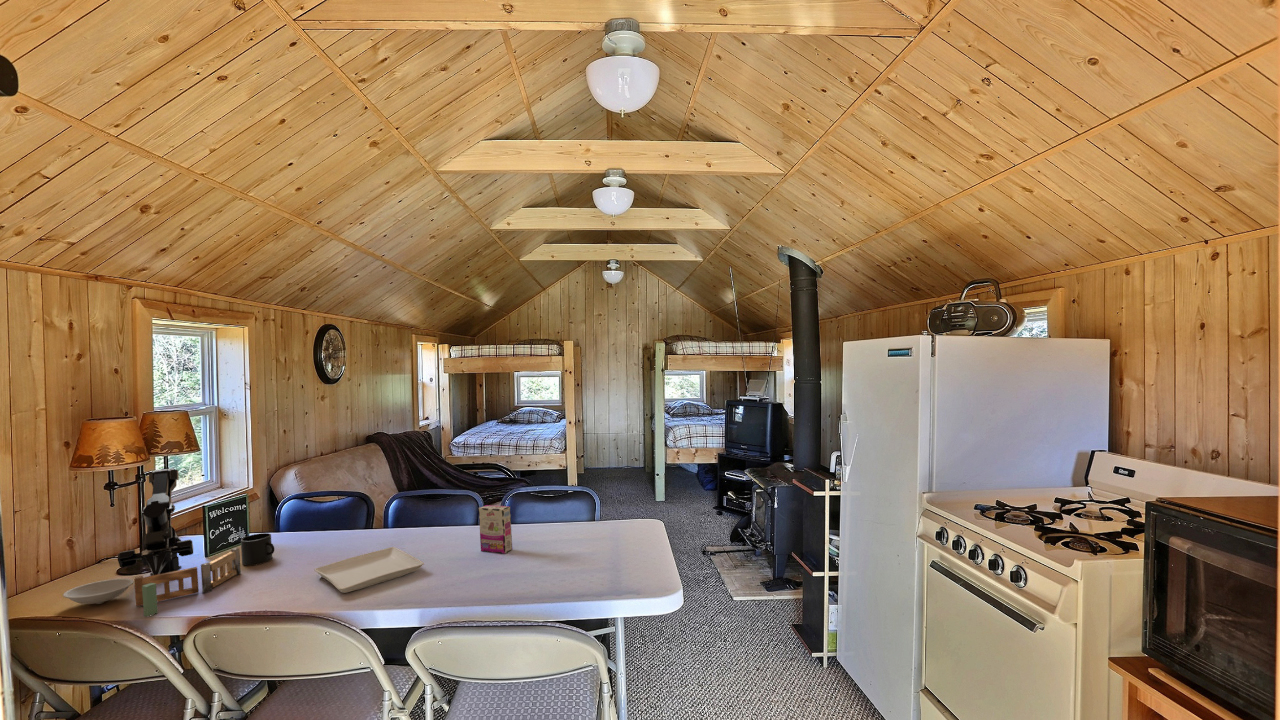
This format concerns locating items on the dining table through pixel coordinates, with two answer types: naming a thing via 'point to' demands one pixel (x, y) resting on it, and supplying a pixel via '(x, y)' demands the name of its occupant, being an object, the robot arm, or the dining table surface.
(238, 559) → the wooden fence panel
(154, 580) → the gate
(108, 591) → the dish
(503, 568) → the dining table surface
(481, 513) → the candy bar box
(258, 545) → the mug
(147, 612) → the post
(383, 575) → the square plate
